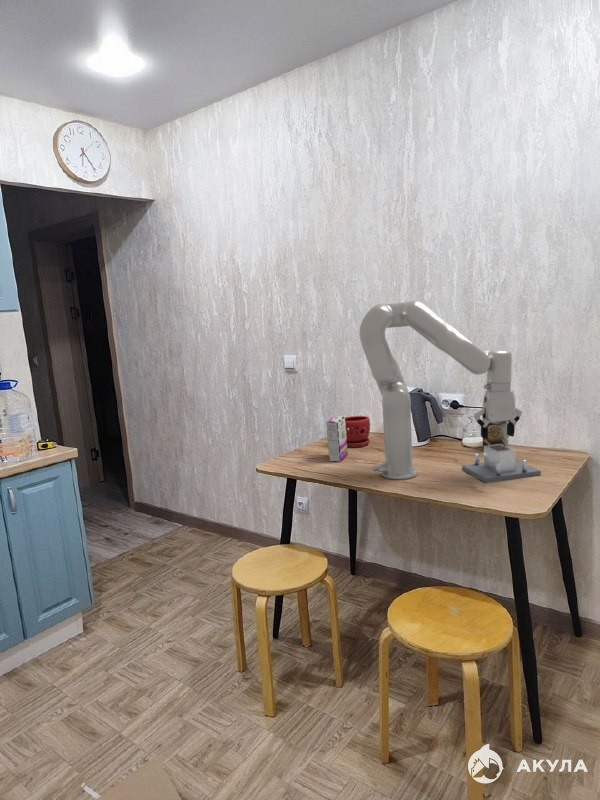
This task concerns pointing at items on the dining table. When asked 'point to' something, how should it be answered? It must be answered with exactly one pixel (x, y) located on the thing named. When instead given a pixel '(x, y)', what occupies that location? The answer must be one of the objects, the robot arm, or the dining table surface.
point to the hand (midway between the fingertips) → (497, 436)
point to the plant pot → (357, 431)
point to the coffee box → (496, 434)
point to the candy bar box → (337, 438)
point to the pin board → (490, 475)
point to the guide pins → (498, 465)
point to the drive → (500, 457)
